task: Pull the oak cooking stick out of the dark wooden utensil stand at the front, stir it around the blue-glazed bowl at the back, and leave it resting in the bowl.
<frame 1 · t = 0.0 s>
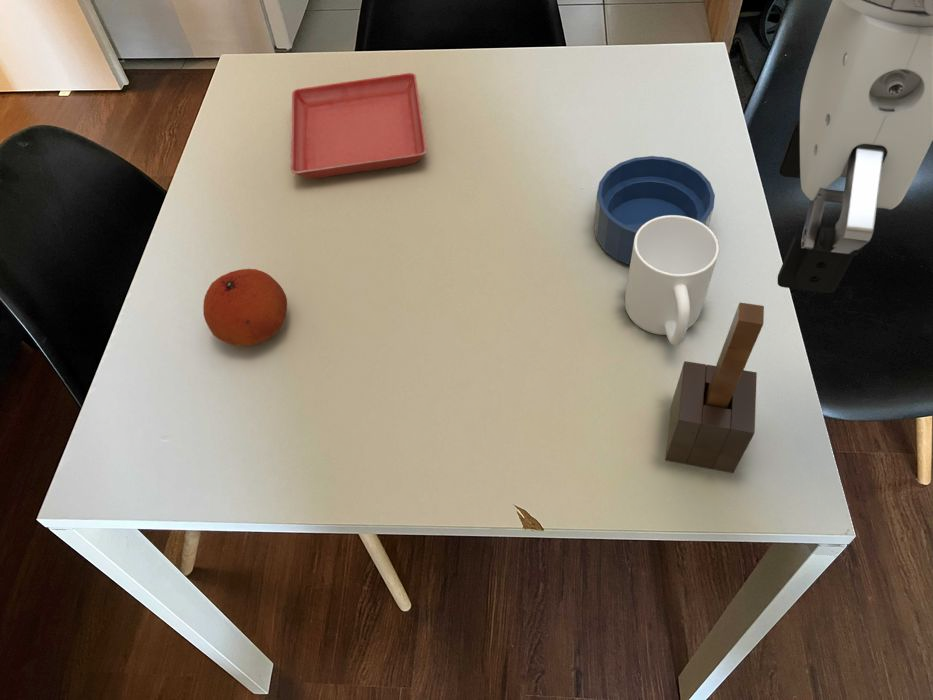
hand: (803, 227, 45), 30 cm above the table, tool pointing down, fingers open, 9 cm apart
cup: (663, 321, 79), on the table
stand: (701, 437, 71), on the table
plant saucer: (361, 139, 101), on the table
fruit: (257, 329, 83), on the table
bowl: (648, 231, 87), on the table
stick: (723, 383, 62), in the stand
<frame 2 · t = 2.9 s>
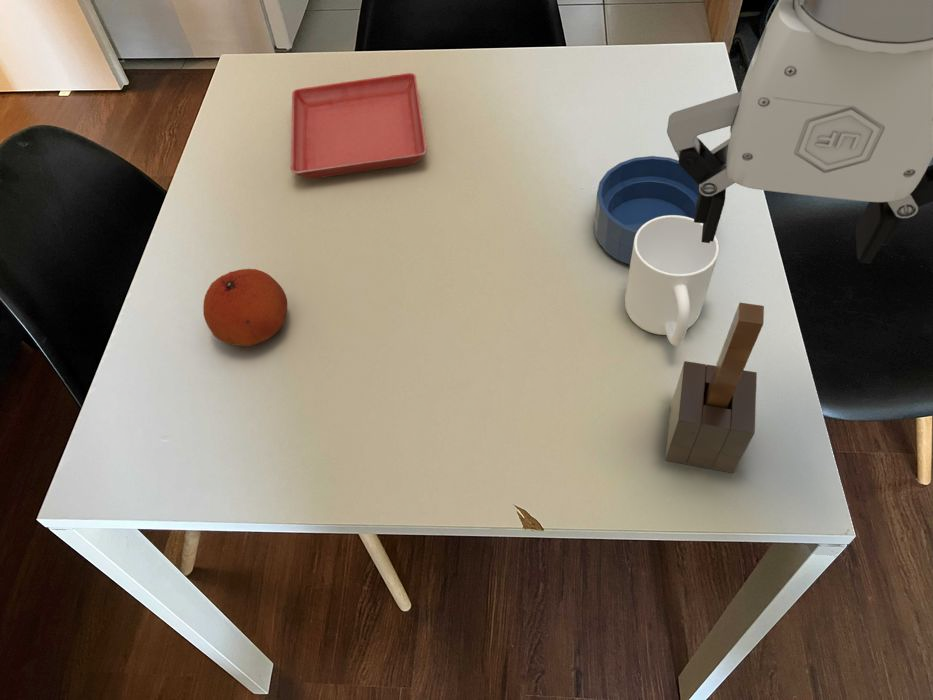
hand: (783, 237, 47), 28 cm above the table, tool pointing down, fingers open, 9 cm apart
nothing on the table moved.
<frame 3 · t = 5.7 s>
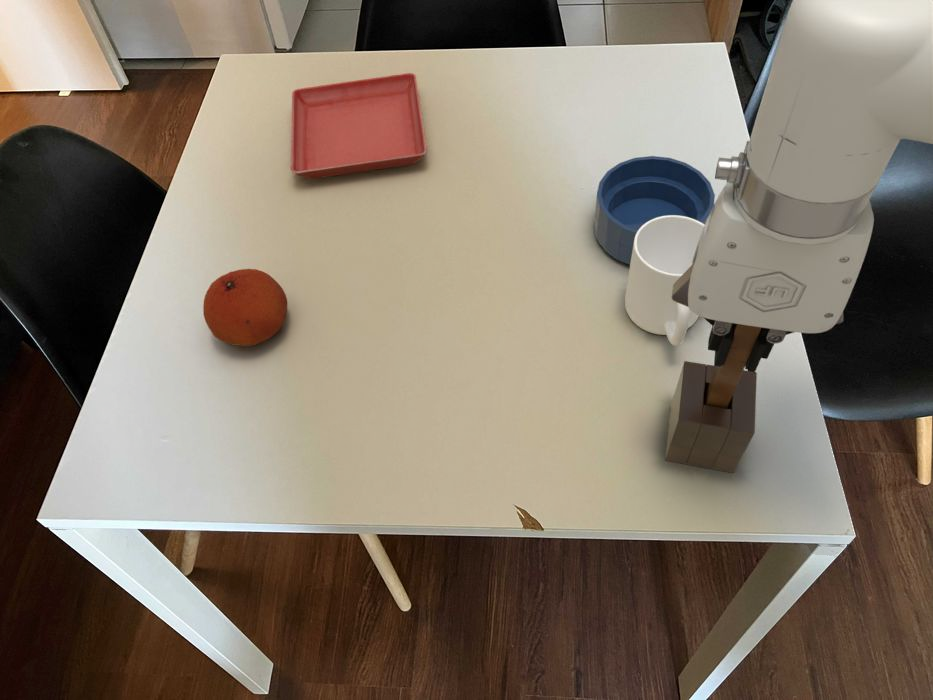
hand: (735, 353, 59), 15 cm above the table, tool pointing down, fingers closed on stick, 1 cm apart
stick: (723, 383, 62), in the stand, touching gripper
everything else where it was.
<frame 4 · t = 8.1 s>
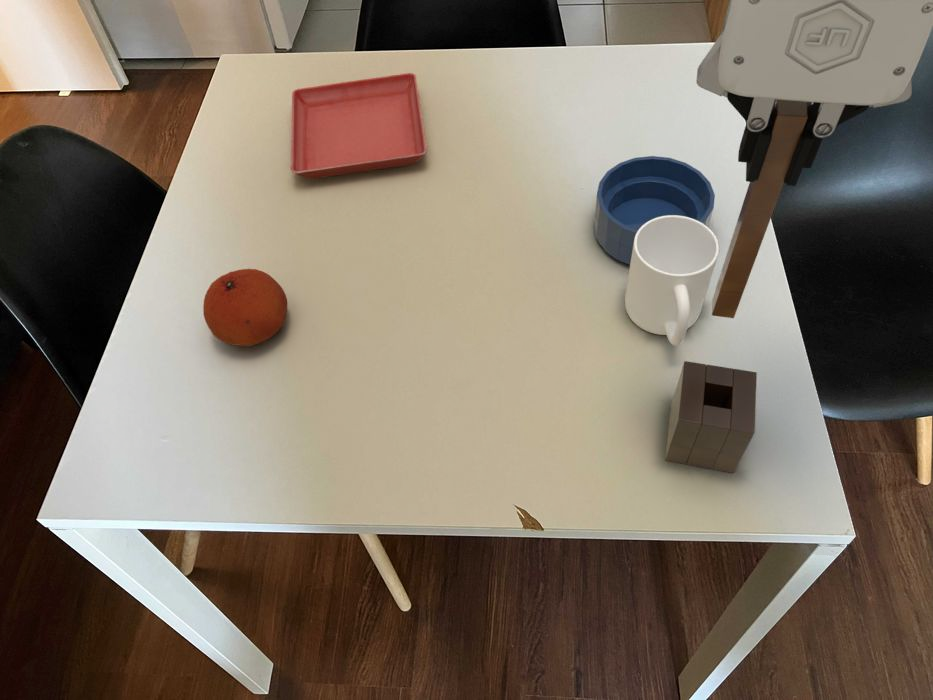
hand: (770, 168, 49), 30 cm above the table, tool pointing down, fingers closed on stick, 1 cm apart
stick: (752, 223, 53), point 25 cm above the table, touching gripper
everything else where it was.
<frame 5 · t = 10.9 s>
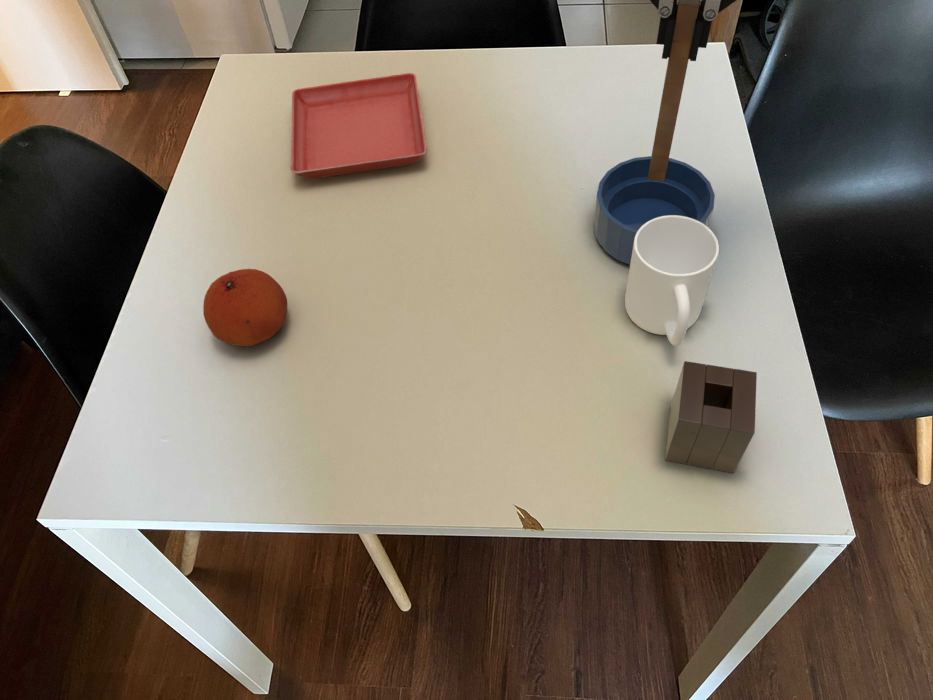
hand: (680, 50, 67), 24 cm above the table, tool pointing down, fingers closed on stick, 1 cm apart
stick: (671, 97, 71), point 19 cm above the table, touching gripper
everything else where it was.
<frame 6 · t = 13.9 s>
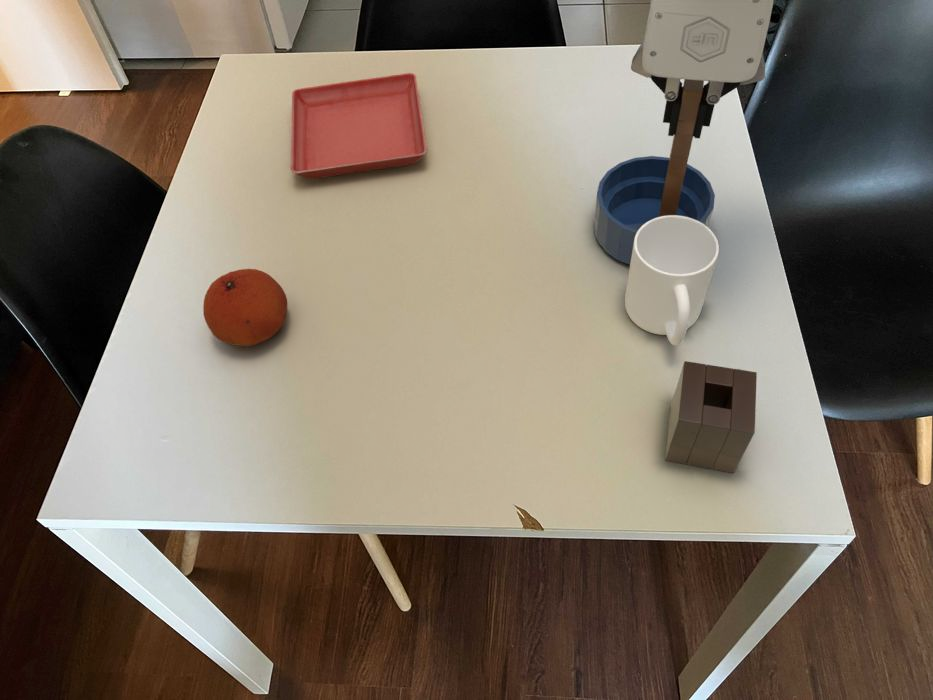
hand: (685, 127, 72), 16 cm above the table, tool pointing down, fingers closed on stick, 1 cm apart
stick: (676, 167, 76), point 12 cm above the table, touching gripper
everything else where it was.
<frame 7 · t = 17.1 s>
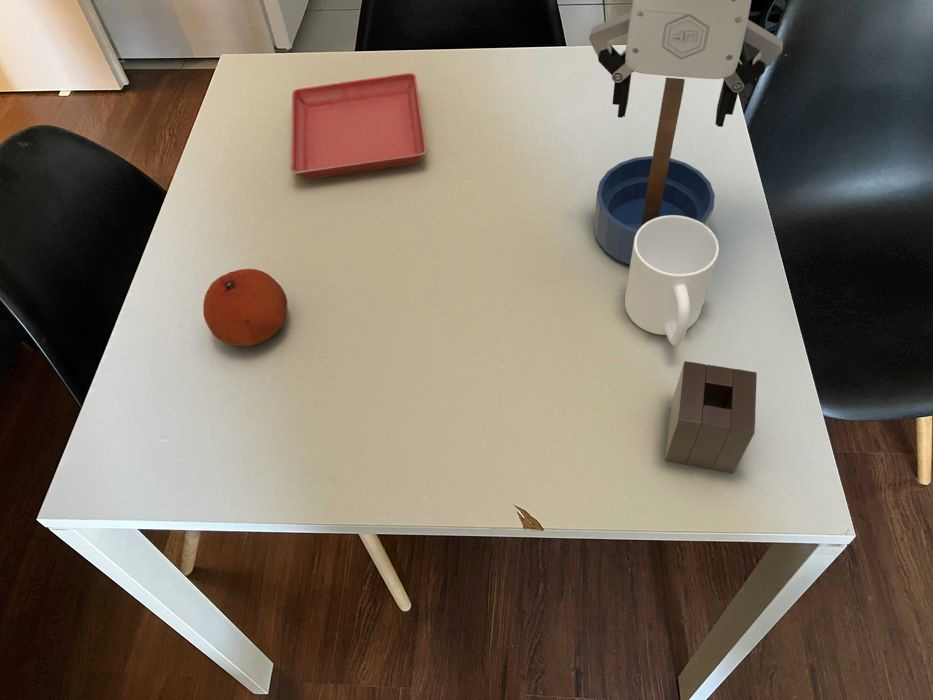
hand: (670, 113, 73), 17 cm above the table, tool pointing down, fingers open, 9 cm apart
stick: (660, 163, 78), in the bowl, point 11 cm above the table
everything else where it was.
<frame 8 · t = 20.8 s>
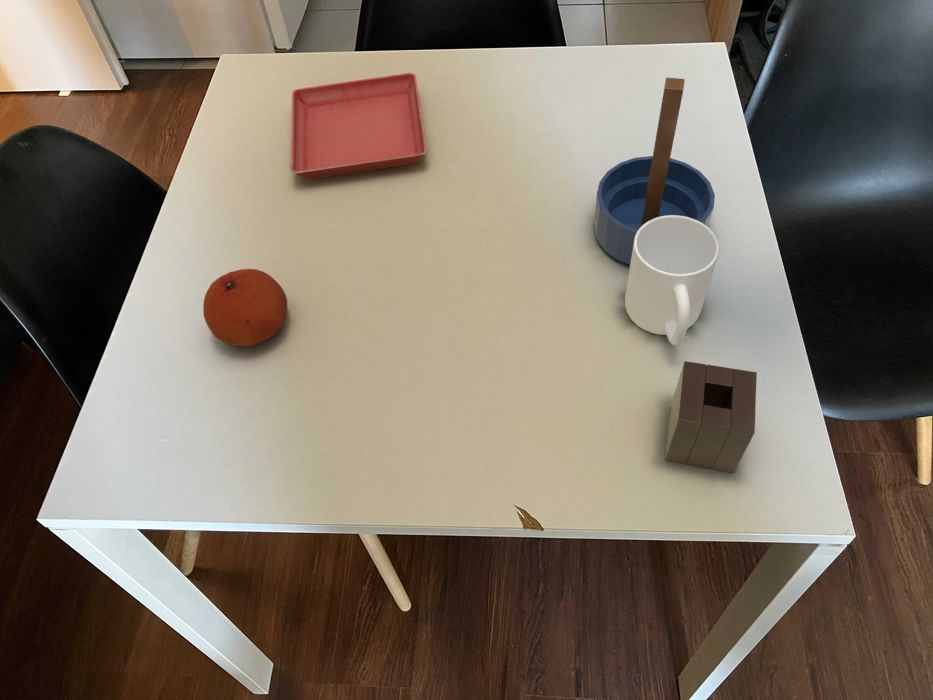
nothing on the table moved.
at the end: stick inside the target area in the bowl (0.3 cm from its centre), point 10.6 cm above the bowl's base; stick moved 28.0 cm from its start; the gripper is holding nothing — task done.
